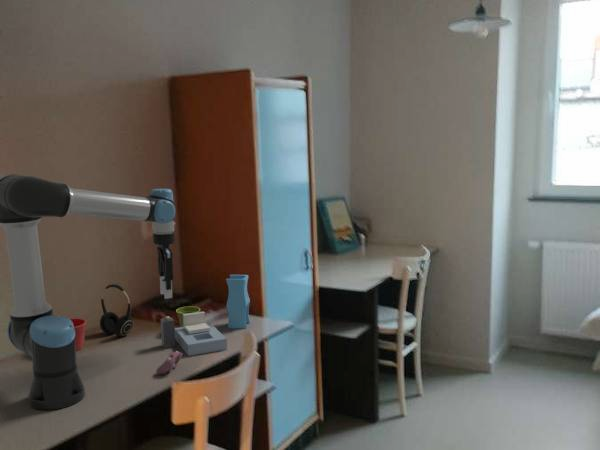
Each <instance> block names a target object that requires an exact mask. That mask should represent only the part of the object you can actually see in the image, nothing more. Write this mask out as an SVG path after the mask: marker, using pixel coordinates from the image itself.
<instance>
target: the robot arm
mask: <svg viewBox="0 0 600 450" xmlns="http://www.w3.org/2000/svg"><path fill="white" fill-rule="evenodd" d="M174 203H175V202H174V193H173V190H172V189H171V188H153V189H151V192H150V195H144V196H136V195H127V194H118V193H112V192H104V191H103V192H102V191H96V190H89V189H88V190H87V189H80V188H73V187H72V188H71V187H70V186H69V185H68V184H66V183H60V182H55V181H50V180H48V179H43V178H40V177H36V176H32V175H23V174H19V173H18V174H17V173H16V174H14V173H12V174H8V175H7V174H5V175H4V176H1V177H0V226H1V227H2V228H4V234H5V241H6V248H7V257H8V263H9V274H10V279H11V281H10V282H11V287H12V296H13V304H14V305H13V306H14V307H13V308H12V309H11V310H10V311H9V316H10V318H9V319H10V321H9V322H8V324H7V328H6V330H7V331H6V334H7V338H8V340H9V343H11V344H12V345H13V347H15V348H16V349H17V350H18V351H21V352H23V353H24V354H26V355H28V356H29V357H31V360H32V370H33V371H32V373H33V378H32V382H31V385H30V389H29V393H28V405H29V407H31V408H32V409H36V410H43V411H50V410H58V409H63V408H68V407H70V406H73V405H75V404H77V403H79V402H81V400H83V399H84V398H85V396H86V390H85V389H86V387H85V385H84V381H83V380H82V377H81V376H80V374H79V372H78V365H77V351H76V345H75V330H74V325H73V322H72V321H71V320H70V319H71V318H68V317H67V316H62V315H59V316H58V315H54V313H53V306H52V304H50V303H49V302H47V300H46V292H45V284H44V275H43V266H42V259H41V258H42V257H41V250H40V241H39V240H40V239H39V232H38V224H39V223H40V222H41V221H42V218H45V217H46V218H47V217H49V218H65V217H67V215H72V216H83V217H84V216H85V217H95V218H106V219H116V220H117V219H118V220H124V221H129V220H130V221H141V222H149V223H151V225H152V228H151V229H152V232H153V234H152V242H153V244H154V245H157V246H156V250H157V272H158V275H159V290H160V291H159V293H160V295H163V297H164V300H167V299H173V281H174V267H173V266H174V265H173V254H174V253H173V251H172V248H170V247H171V246H170V245H173V244H174V243H176V234H175V225H176V223H177V222H175V216H176V207H175V204H174Z"/></svg>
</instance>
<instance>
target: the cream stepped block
mask: <svg viewBox="0 0 600 450" xmlns="http://www.w3.org/2000/svg"><path fill="white" fill-rule="evenodd" d="M205 314H206V312H205V311H199V312H197V313H189V314H183V328H184V329H185V330H186V331H187V332H188V334H192V333H199V332H206V331H210V327H209V326H208V325H207V323H206V317H205V316H206V315H205Z"/></svg>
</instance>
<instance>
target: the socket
mask: <svg viewBox="0 0 600 450" xmlns="http://www.w3.org/2000/svg"><path fill="white" fill-rule="evenodd" d="M206 324H207V325H208V326H209V327H210V331H206V332H199V333H192V334H188V332H187V331H186V330H185V329H184V328H183V327H180V326H179V327H174V329H175V342H177V343H178V344H179V346H180V347H181V348H182V350H183V351H184V352H185V353H186V355H187V356H189V357H190V356H196V355H197V356H198V355H202V354H208V353H213V352H219V351H220V352H221V351H226V350H227V349H228V343H227V342H228V341H227V337H226V336H224V335H223V334H222V333H221V332H220V331H219V330H218V329H217V328H216V327H215V326H214V325H213V324H212V323H211V322H209V323H206Z"/></svg>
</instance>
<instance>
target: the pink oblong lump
mask: <svg viewBox="0 0 600 450" xmlns="http://www.w3.org/2000/svg"><path fill="white" fill-rule="evenodd" d="M182 357H183V353H182V352H181V351H178V350H176V351H173V352H171V353H169V355H168V357H167V358H166V359H165V360H164V362H163V363H162V364H161V365H159V366H158V367H157V369H156V374H157V375H164V374H165V373H167V372H169V373H171V372H172V370H173V369H175V368H176V367H177V366H178V363H179V362H180V360H181V359H182Z"/></svg>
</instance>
